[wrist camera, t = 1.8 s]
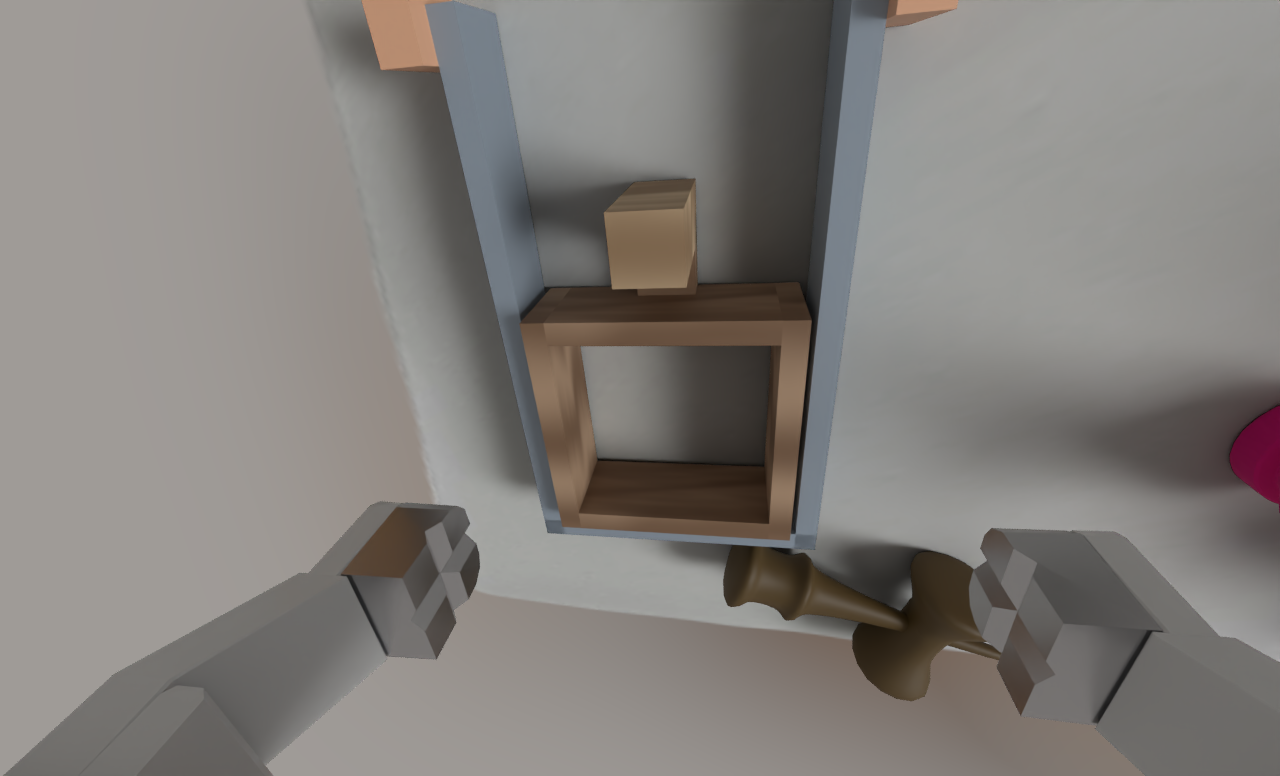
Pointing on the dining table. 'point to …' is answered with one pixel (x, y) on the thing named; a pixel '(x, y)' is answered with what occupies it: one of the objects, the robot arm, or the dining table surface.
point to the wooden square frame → (666, 316)
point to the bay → (489, 151)
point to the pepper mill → (1260, 455)
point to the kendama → (869, 611)
